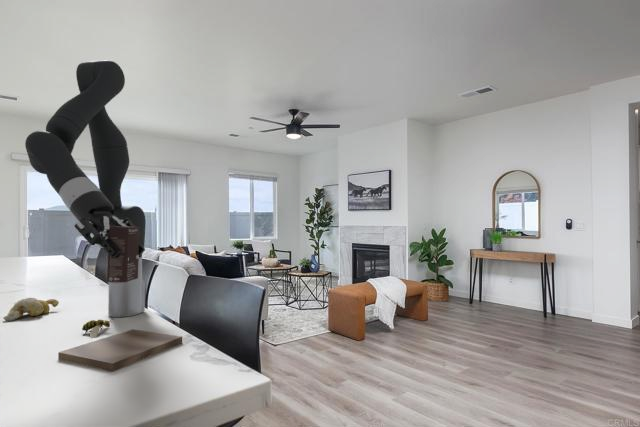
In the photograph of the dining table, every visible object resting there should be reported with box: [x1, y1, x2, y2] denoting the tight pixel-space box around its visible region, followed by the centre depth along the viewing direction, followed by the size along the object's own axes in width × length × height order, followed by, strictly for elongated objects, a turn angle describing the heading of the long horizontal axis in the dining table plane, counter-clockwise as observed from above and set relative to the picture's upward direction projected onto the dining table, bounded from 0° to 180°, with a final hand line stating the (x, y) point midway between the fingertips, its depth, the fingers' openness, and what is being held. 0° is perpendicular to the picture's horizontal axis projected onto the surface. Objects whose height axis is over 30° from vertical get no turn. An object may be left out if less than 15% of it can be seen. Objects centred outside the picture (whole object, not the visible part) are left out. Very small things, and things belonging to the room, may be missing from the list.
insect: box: [81, 318, 114, 339], centre depth 97 cm, size 11×6×5 cm, turn 15°
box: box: [106, 226, 140, 284], centre depth 83 cm, size 6×4×12 cm
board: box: [57, 328, 183, 372], centre depth 83 cm, size 18×16×2 cm
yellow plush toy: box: [3, 297, 60, 322], centre depth 115 cm, size 10×6×15 cm
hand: (130, 254), depth 83 cm, fingers closed on box, 6 cm apart
